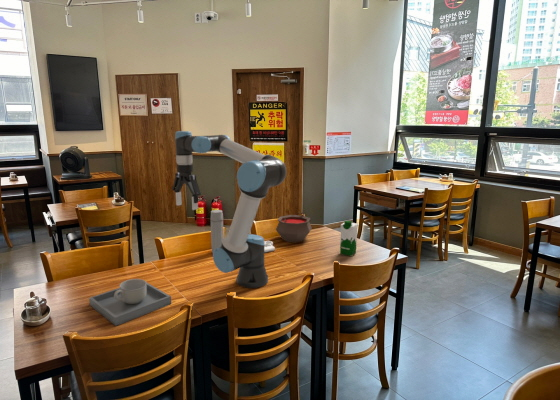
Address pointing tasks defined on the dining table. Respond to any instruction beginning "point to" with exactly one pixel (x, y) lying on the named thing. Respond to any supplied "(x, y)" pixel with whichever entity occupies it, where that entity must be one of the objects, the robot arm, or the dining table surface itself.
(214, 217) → the water bottle
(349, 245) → the milk carton
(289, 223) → the cooking pot
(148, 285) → the tray
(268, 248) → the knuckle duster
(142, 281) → the teacup
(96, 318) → the dining table surface
